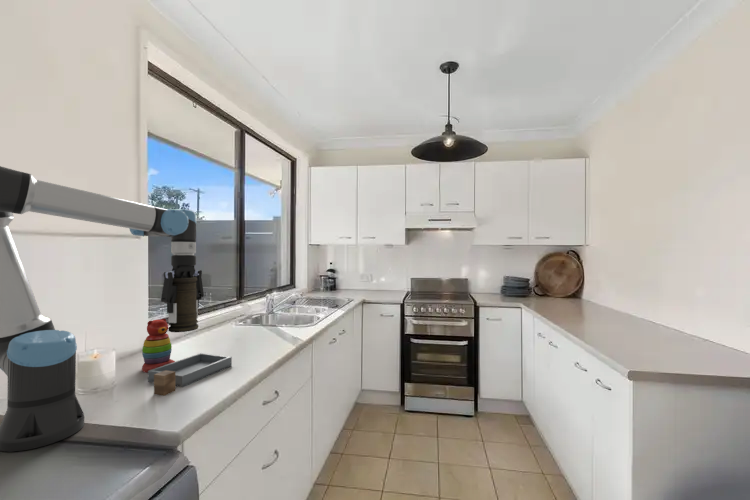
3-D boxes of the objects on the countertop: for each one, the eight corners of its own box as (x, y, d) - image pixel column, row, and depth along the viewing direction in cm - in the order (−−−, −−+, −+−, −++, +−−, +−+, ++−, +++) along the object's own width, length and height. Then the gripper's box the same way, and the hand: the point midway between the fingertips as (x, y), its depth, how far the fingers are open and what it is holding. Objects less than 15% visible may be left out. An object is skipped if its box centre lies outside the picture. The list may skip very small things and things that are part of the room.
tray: (182, 387, 111) (182, 376, 112) (147, 381, 116) (147, 370, 116) (231, 366, 132) (231, 356, 132) (200, 362, 137) (200, 353, 137)
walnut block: (163, 396, 105) (163, 375, 105) (153, 394, 106) (154, 374, 106) (175, 391, 108) (175, 371, 109) (165, 389, 110) (165, 370, 110)
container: (203, 327, 125) (203, 276, 125) (187, 332, 116) (187, 278, 116) (179, 326, 126) (180, 276, 126) (162, 332, 117) (162, 278, 117)
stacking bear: (146, 373, 124) (147, 323, 124) (135, 368, 130) (136, 320, 130) (178, 366, 132) (179, 319, 133) (167, 361, 138) (167, 316, 139)
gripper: (165, 254, 110) (164, 327, 110) (215, 254, 130) (215, 315, 129) (147, 254, 112) (147, 325, 112) (199, 254, 132) (199, 314, 132)
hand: (183, 320), depth 121 cm, fingers closed on container, 8 cm apart
